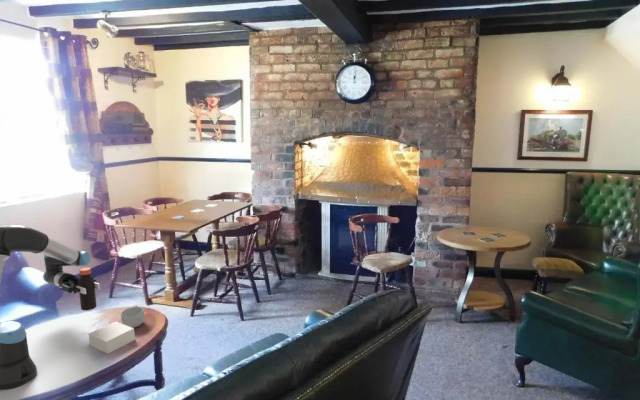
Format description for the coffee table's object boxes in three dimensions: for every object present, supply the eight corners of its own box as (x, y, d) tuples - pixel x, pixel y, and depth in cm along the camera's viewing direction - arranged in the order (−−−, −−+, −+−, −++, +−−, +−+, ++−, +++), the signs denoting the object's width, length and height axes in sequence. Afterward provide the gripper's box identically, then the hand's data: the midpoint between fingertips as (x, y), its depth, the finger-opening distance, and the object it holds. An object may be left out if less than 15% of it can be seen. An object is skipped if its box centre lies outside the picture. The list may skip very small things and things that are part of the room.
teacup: (139, 330, 215) (138, 315, 214) (118, 330, 216) (116, 315, 214) (150, 317, 229) (149, 303, 228) (130, 317, 229) (128, 303, 228)
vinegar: (93, 303, 217) (90, 265, 214) (98, 307, 212) (95, 269, 209) (79, 307, 212) (75, 269, 209) (83, 312, 208) (79, 272, 204)
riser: (108, 353, 195) (106, 341, 193) (89, 345, 202) (88, 333, 201) (135, 339, 206) (133, 328, 205) (117, 332, 213) (115, 321, 212)
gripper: (84, 281, 228) (111, 289, 216) (46, 293, 212) (73, 303, 200) (83, 267, 227) (109, 275, 215) (44, 279, 211) (71, 288, 199)
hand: (92, 288), depth 208 cm, fingers closed on vinegar, 6 cm apart
